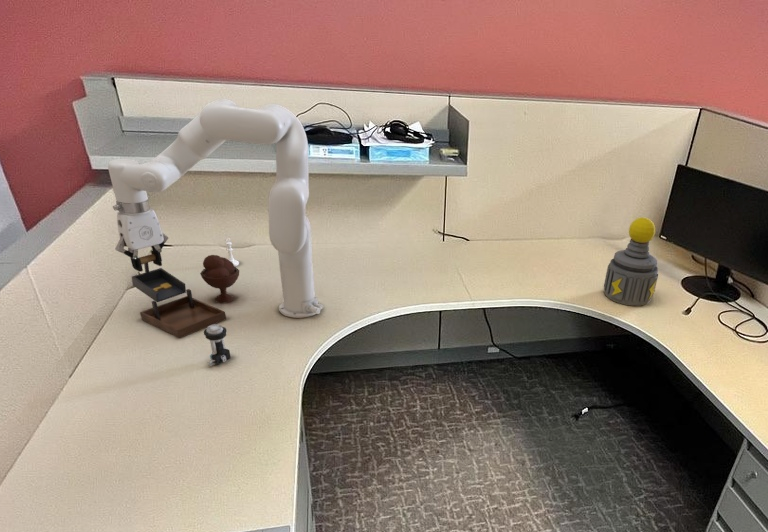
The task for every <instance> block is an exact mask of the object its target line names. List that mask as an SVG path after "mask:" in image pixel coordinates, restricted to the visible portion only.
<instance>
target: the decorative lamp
mask: <svg viewBox="0 0 768 532" xmlns="http://www.w3.org/2000/svg"><path fill="white" fill-rule="evenodd" d="M655 234H656V226H655V224H654V222H653V221H652V220H651V219H650V218H648V217H644V216H643V217H638V218H636V219H634V220H633V221H632V222H631V224H630V225H629V229H628V235H629V237H630V239H629V242H628V244H627V245H626V248H625V249H622V250H618V251H615V253H614V255H613V258H612V259H610V262H609V263H608V265H607V269H606V273H605V279H604V283H603V290H604V291H603V293H604V295H605V296H606V297H607V298H608V299H609V300H610V301H613V302H615V303H617V304H621V305H625V306H629V307H630V306H633V307H639V306H644V305H647V304H649V303H650V302H651V300H652V299H653V297H654V294H655V292H656V286H657V282H658V278H659V273H658V272H659V268H658V259H657V258H656V257H655V256H653V255H651V254H650V252H649V251H650V247H649V245H650V241H652V240H653V238H654V237H655Z"/></svg>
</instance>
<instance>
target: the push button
mask: <svg viewBox="0 0 768 532" xmlns="http://www.w3.org/2000/svg"><path fill="white" fill-rule="evenodd" d="M227 330H228V329H227V328H226V327H224V326H222V325H221V324H218V323H215V324H213V325H210V326H208V327H206V328H204V330H203V335H204V336H205V339H206V340H208V341H209V343H210V348H211V353H210V355H209V358H210V360H209V361H207V364H208V367H212V366H214V365H216V366H218V365H220V364H221V363H225V362H227V360H229V359H231V351H230V349H228V348H226V346H225V345H226V344H225V341H224V339H225V337H227V332H228V331H227Z"/></svg>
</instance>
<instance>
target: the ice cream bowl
mask: <svg viewBox="0 0 768 532" xmlns="http://www.w3.org/2000/svg"><path fill="white" fill-rule="evenodd" d="M228 259H229V258H227V257H223V256H220V255H218V254H210V255H207V256H205V257H204V260H203V261H202V266H203V269H202V270H201V272H199V274H200V276H201V278H202V279H203V281H204V282H205V283H206V284H207V285H209V287H212V288H214V289H218V290H219V292H220V294H218V295H217V296H216V297H214V298H215V299H214V301H215V302H216V303H221V304H226V303H227V304H228V303H231V302H233V301H234V299H235V296H233V295H232V294H230V293H228V292H227V289H228V288H230V287H233V285H234V284H235V283H236V282H237V280H238V279H239V276H240V269H238V267H237V266H234V264H233V263H232V262H231V261H229V260H228Z"/></svg>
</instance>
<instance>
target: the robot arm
mask: <svg viewBox="0 0 768 532" xmlns="http://www.w3.org/2000/svg"><path fill="white" fill-rule="evenodd" d="M226 141H229V142H235V143H243V144H244V143H246V144H251V145H253V144H254V145H263V146H267V145H268V146H269V145H273V144H275V146H276V153H275V162H276V163H275V164H276V166H275V167H276V168H275V169H276V173H275V176H276V177H275V182H274V184H273V185H272V186H271V188H270V191H269V194H268V201H267V203H268V237H269V241H270V243H271V246H273V248H274V249H275V250H276V251H277V253H278V264H279V273H280V281H281V290H282V291H281V293H282V300H283V302H281V303H280V304H279V306H278V310H279V313H280V314H281V315H282V316H285V317H288V318H293V319H303V318H304V319H305V318H309V317H312V316H315V315H319V314H320V313H321V310H323V308H324V305H323V304H321V303H320V301H318V297H316V294H315V293H316V291H315V280H314V268H313V267H314V266H313V253H312V252H313V251H312V226H311V223H310V220H309V218H308V216H307V215H306V206H307V203H308V201H309V197H310V185H309V183H310V182H309V181H310V178H309V177H310V173H309V172H310V171H309V169H310V167H309V144H308V143H309V142H308V137H307V133H306V131H305V128H304V126H303V123H301V121H300V119H299V118H298V117H297V116H296V115H295V114H294V113H293V112H292V111H291V110H289V109H288V108H286V107H285V106H283V105H280V104H277V103H267V104H263V105H262V106H260V107H259V108H248V107H241V106H239V105H238V104H237V103H235V102H234V101H233V100H231V99H229V98H222V97H221V98H218V99H215V100H213V101H210V102H209V103H207V104H205V105H204V106H203V107H202V108H201V110H200V112H199V113H198V114H197V115H196V116H195V117H194V118H193V119H191V120H190V121H189V122H188V123H187V124H186V125H185V126H183V127H182V128H180V130H179V131H178V132H177V137H176V139H174V141H173V142H171V144H169V145H168V147H166V148H165V149H164V150H163V151H161V152H160V153H159V154H158V155H156V156H155V157H154V158H152V159H150V160H149V161H146V162H144V163H141V164H140V163H139V161H138V160H136V159H133V158H115V159H111V160H110V161H109V162H108V163H107V170H108V173H109V177H110V181H111V186H112V189H113V192H114V197H115V203H116V204H114V205H112V208H113V211H118V212H116V223H117V224H116V225H117V231H118V236H119V237H118V238H119V240H118V242H117V244H116V246H115V249H114V250H115V251H117V252H119V253H121V254H123V255H125V256H127V257H128V258H129V259H130V262H131V266H132V268H133V269H134V270H135V271H137V272H139V273H142V272H143V271H144V269H143V264H141V260H140V258H139V257H138V256H139V250H142V249H146V248H149V247H150V248H151V250H150V254H154V255H155V257H156V260H155V261H152V263H153V265H156V266H159V267H162V266H163V263H162V262H163V258H162V254H161V253H162V251H163V250H162V249H163V248H164V246H165V244H166V242H167V241H168V240H169V236H167V235H166V234H165V233H164V232H163V230H162V227H161V224H160V220H159V218H158V216H157V214H156V212H155V210H154V208H151V206H150V202H149V198H148V193H147V192H149V193H161V192H163V191H165V190H166V189H168V188H169V187H170V186H172V185H173V184H174V183H176V182H177V181H178V180H179V179H180V178H182V177H183V176H184V175H185V174H187V172H189V170H191V169H192V168H193V167H195V166H196V165H197V164H198V163H199V162H200V161H201V162H202V161H203V160H205V159H207V157H208V156H210V155H211V154H213V152H215V151H216V150H217V149H218V148H219V147H220V146H222V145H223V143H225V142H226ZM125 247H127V249H126V248H125Z"/></svg>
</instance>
